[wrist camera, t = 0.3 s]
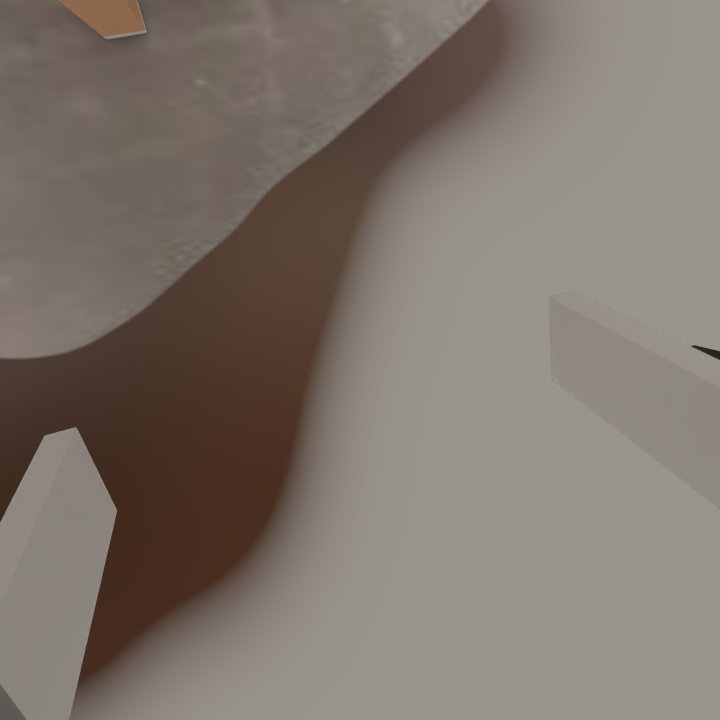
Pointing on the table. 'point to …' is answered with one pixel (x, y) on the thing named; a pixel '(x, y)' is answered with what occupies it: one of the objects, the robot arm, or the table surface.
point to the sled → (109, 16)
